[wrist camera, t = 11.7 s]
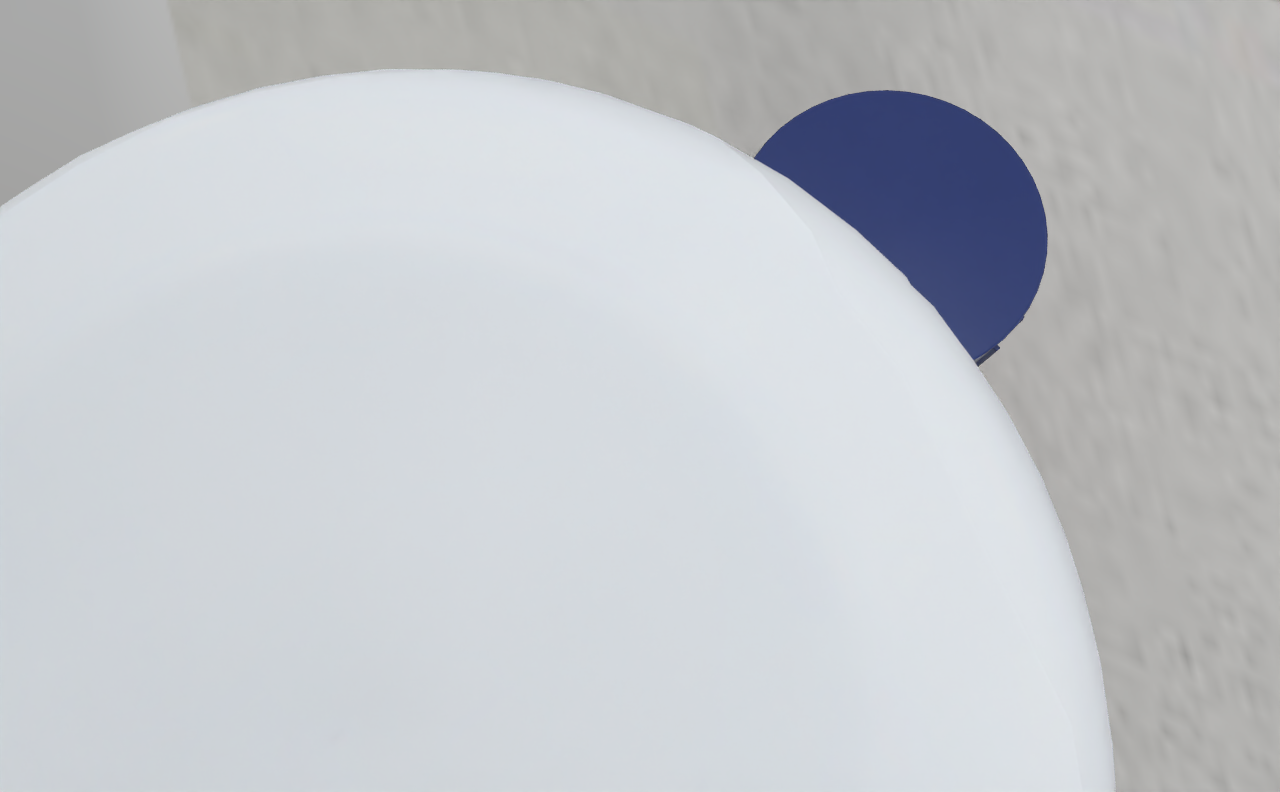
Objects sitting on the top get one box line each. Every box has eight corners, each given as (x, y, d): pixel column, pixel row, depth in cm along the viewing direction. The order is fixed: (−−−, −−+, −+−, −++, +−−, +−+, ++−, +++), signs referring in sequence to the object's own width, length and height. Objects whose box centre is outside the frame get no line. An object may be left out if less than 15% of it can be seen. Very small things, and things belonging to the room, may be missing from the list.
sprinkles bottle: (505, 495, 16) (-291, 55, 3) (757, 484, 16) (1055, -42, 3) (505, 763, 15) (-685, 1819, 2) (775, 755, 15) (1364, 1879, 2)
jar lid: (740, 421, 19) (745, 397, 17) (713, 157, 20) (715, 102, 18) (1033, 396, 19) (1078, 368, 16) (985, 131, 20) (1022, 71, 18)
